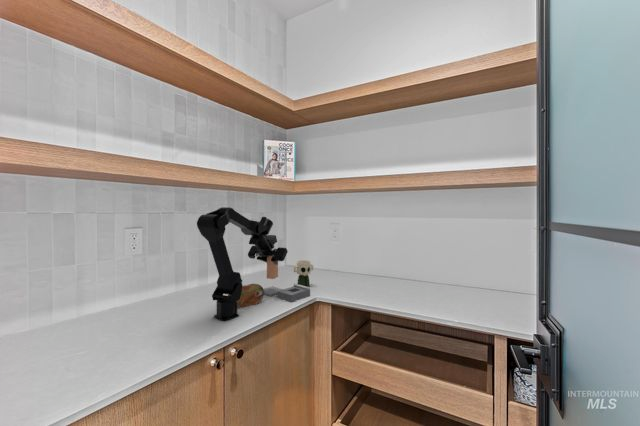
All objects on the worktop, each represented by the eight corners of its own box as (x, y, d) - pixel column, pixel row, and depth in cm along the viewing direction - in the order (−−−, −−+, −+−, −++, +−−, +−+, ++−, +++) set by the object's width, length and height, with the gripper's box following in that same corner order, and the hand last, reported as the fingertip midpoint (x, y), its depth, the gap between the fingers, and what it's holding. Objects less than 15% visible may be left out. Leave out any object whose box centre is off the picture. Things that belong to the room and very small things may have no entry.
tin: (229, 310, 107) (229, 289, 107) (226, 308, 109) (226, 287, 109) (264, 302, 116) (264, 282, 116) (260, 300, 119) (260, 281, 119)
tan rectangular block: (273, 279, 128) (273, 252, 128) (266, 278, 130) (266, 252, 130) (277, 277, 133) (278, 251, 133) (271, 276, 134) (272, 250, 134)
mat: (270, 296, 125) (270, 293, 125) (258, 292, 131) (258, 290, 131) (285, 291, 132) (285, 289, 132) (272, 288, 138) (272, 286, 138)
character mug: (296, 289, 136) (296, 263, 135) (291, 286, 142) (291, 261, 142) (316, 287, 141) (316, 261, 141) (309, 283, 147) (310, 259, 147)
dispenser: (291, 302, 117) (291, 292, 117) (277, 297, 123) (277, 288, 123) (310, 295, 126) (310, 286, 126) (296, 291, 132) (296, 283, 132)
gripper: (286, 230, 124) (296, 251, 134) (251, 228, 131) (264, 249, 141) (276, 249, 117) (288, 270, 127) (240, 247, 124) (255, 267, 134)
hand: (274, 263), depth 132 cm, fingers closed on tan rectangular block, 3 cm apart
